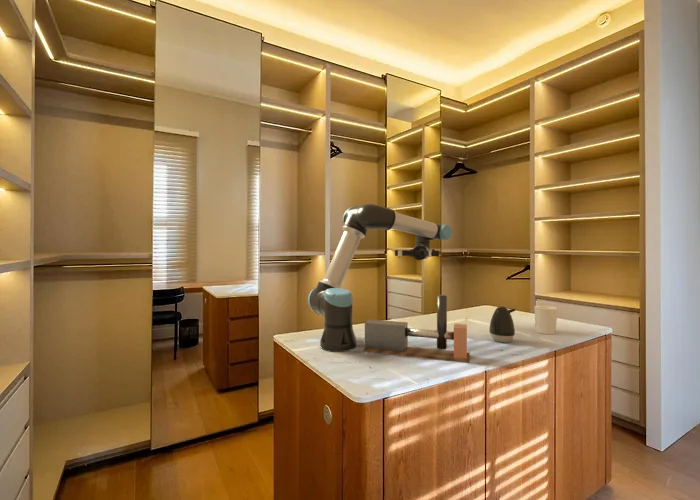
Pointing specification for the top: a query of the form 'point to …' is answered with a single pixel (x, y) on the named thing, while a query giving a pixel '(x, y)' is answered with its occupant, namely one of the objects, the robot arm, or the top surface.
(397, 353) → the base board
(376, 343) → the box on wooden plank
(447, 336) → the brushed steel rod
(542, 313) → the candle holder
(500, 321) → the pump dispenser
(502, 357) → the top surface
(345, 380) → the top surface
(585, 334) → the top surface
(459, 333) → the socket
